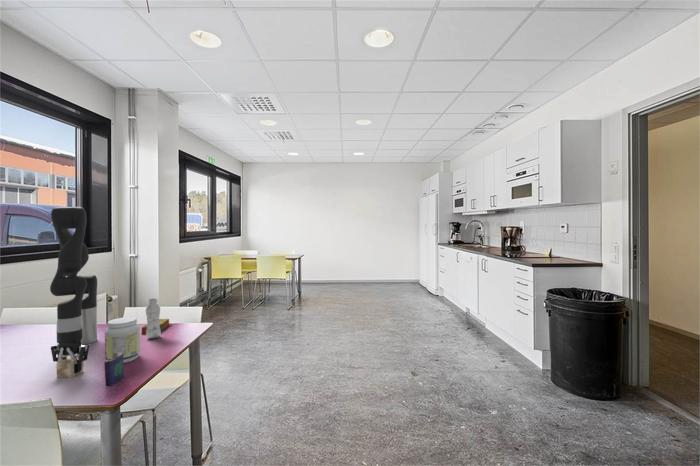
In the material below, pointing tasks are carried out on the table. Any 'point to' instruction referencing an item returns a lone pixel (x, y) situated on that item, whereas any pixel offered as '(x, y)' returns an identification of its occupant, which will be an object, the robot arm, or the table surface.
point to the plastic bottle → (153, 319)
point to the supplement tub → (122, 338)
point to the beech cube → (66, 368)
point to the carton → (162, 322)
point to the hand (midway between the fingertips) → (70, 372)
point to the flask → (114, 369)
